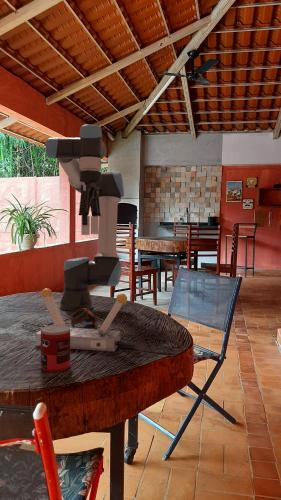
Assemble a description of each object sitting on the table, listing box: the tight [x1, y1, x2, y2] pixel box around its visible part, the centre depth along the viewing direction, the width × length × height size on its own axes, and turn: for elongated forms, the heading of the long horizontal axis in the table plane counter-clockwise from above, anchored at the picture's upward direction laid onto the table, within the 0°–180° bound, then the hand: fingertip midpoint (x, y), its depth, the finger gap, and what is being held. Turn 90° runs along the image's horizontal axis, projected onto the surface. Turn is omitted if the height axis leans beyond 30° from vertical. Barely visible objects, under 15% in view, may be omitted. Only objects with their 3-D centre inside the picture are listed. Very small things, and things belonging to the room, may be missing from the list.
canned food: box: [40, 324, 71, 373], centre depth 104 cm, size 8×8×11 cm
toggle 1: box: [40, 287, 67, 326], centre depth 125 cm, size 4×4×15 cm
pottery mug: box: [69, 308, 98, 329], centre depth 146 cm, size 12×10×8 cm
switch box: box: [35, 327, 137, 353], centre depth 123 cm, size 10×32×4 cm, turn 81°
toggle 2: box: [98, 293, 128, 335], centre depth 122 cm, size 4×4×15 cm
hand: (90, 234), depth 133 cm, fingers open, 10 cm apart
